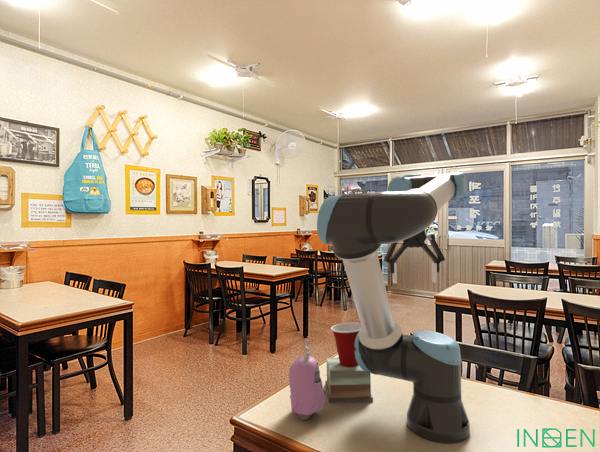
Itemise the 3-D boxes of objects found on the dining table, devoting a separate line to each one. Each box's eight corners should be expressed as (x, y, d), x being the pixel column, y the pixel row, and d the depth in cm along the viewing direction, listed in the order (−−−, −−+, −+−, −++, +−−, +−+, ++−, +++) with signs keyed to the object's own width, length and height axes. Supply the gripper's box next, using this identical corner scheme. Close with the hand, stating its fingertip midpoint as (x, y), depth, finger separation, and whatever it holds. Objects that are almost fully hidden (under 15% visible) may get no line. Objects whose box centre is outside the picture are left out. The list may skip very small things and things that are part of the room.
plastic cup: (332, 357, 122) (331, 321, 122) (365, 358, 120) (364, 321, 120) (330, 369, 111) (329, 329, 111) (366, 371, 109) (365, 330, 109)
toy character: (323, 427, 95) (322, 350, 95) (284, 424, 97) (283, 348, 97) (329, 405, 107) (328, 336, 107) (294, 402, 109) (293, 335, 109)
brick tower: (372, 401, 109) (372, 371, 109) (329, 402, 109) (328, 372, 109) (364, 383, 122) (363, 356, 122) (325, 384, 122) (324, 357, 122)
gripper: (444, 220, 130) (446, 280, 129) (374, 221, 129) (375, 281, 129) (454, 219, 122) (455, 283, 122) (379, 220, 121) (381, 284, 121)
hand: (414, 282), depth 125 cm, fingers open, 13 cm apart
